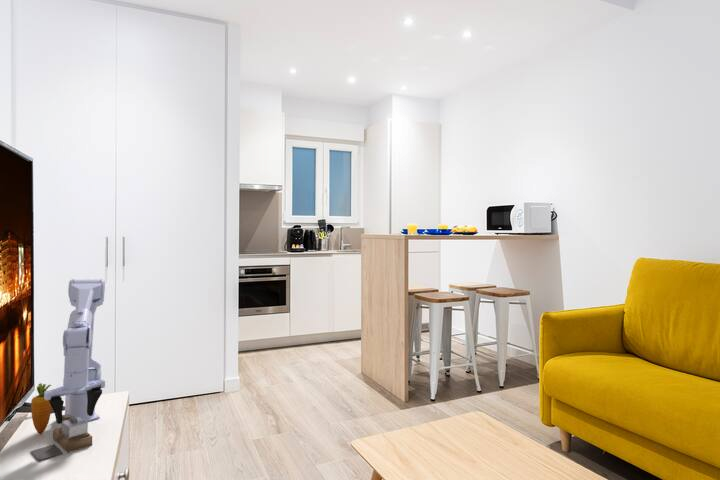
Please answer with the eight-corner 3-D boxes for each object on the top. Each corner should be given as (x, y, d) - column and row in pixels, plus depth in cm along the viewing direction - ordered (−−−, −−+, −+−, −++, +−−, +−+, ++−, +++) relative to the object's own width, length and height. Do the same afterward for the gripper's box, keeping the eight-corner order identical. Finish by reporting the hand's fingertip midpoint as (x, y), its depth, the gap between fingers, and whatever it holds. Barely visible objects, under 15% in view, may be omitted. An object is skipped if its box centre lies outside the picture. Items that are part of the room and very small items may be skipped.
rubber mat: (30, 452, 120) (30, 451, 120) (54, 445, 124) (54, 444, 124) (38, 461, 115) (39, 460, 115) (63, 454, 119) (63, 452, 119)
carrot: (32, 432, 131) (34, 381, 131) (52, 429, 133) (54, 379, 133) (27, 439, 126) (29, 386, 126) (48, 437, 128) (50, 385, 128)
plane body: (52, 438, 128) (53, 417, 128) (76, 431, 132) (76, 411, 132) (67, 452, 120) (68, 430, 120) (92, 445, 125) (92, 423, 125)
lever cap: (61, 433, 125) (61, 418, 125) (79, 428, 129) (79, 414, 129) (69, 440, 122) (69, 425, 122) (87, 435, 125) (87, 420, 125)
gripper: (50, 379, 117) (49, 431, 117) (110, 368, 128) (108, 415, 128) (42, 373, 121) (40, 423, 121) (100, 363, 133) (98, 408, 133)
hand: (74, 418), depth 125 cm, fingers open, 7 cm apart
